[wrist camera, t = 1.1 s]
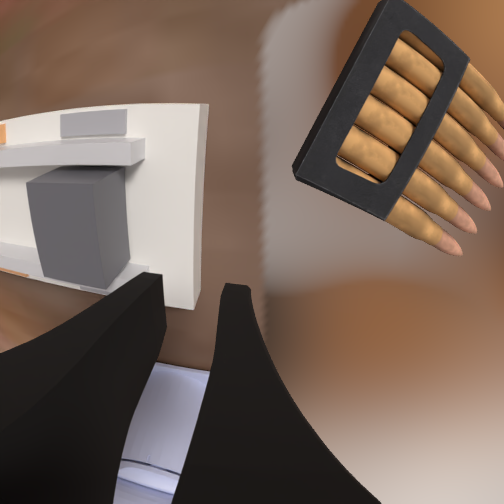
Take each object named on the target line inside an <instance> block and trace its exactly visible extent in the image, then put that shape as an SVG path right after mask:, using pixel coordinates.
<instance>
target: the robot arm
mask: <svg viewBox="0 0 504 504" xmlns="http://www.w3.org/2000/svg"><path fill="white" fill-rule="evenodd" d="M166 328H167V324H166V313H165V301H164V288H163V274H156V273H149V272H142V273H140V274H139V275H137V276H135V277H134V278H132V279H131V280H129V281H128V282H126V283H125V284H123V285H122V286H120V287H119V288H117V289H116V290H115V291H113V292H112V293H110V294H109V295H107V296H106V297H104V298H103V299H101V300H100V301H98V302H97V303H95V304H94V305H92V306H91V307H89V308H87V309H86V310H84V311H82V312H81V313H79V314H78V315H76V316H74V317H73V318H71V319H70V320H68V321H66V322H65V323H63V324H61V325H60V326H58V327H56V328H54V329H52V330H51V331H49V332H47V333H45V334H43V335H41V336H39V337H37V338H35V339H33V340H31V341H29V342H26V343H24V344H22V345H19V346H17V347H14V348H12V349H10V350H7V351H5V352H2V353H0V504H381V502H380V501H378V499H377V498H375V497H374V496H373V495H372V494H371V493H370V492H369V491H368V490H367V489H366V488H365V487H363V486H362V485H361V484H360V483H359V482H358V481H357V480H356V479H355V478H354V477H353V476H352V474H351V473H349V471H348V470H346V468H345V467H344V466H343V465H342V464H341V463H340V462H339V460H338V459H337V458H336V457H335V456H334V455H333V454H332V452H331V451H330V450H329V449H328V448H327V446H326V445H325V444H324V443H323V441H322V440H321V439H320V437H319V436H318V435H317V433H316V432H315V431H314V429H313V428H312V427H311V425H310V424H309V423H308V421H307V420H306V419H305V417H304V416H303V414H302V413H301V411H300V410H299V408H298V407H297V405H296V403H295V402H294V401H293V399H292V397H291V396H290V394H289V392H288V390H287V389H286V387H285V385H284V383H283V381H282V380H281V378H280V376H279V374H278V372H277V370H276V368H275V366H274V364H273V361H272V360H271V357H270V355H269V353H268V350H267V348H266V345H265V343H264V341H263V338H262V335H261V332H260V329H259V326H258V324H257V320H256V317H255V313H254V309H253V305H252V300H251V289H250V288H249V287H248V286H247V285H239V284H231V283H226V284H225V286H224V289H223V291H222V294H221V298H220V307H219V316H218V325H217V334H216V344H215V351H214V357H213V363H212V366H211V370H210V371H203V370H197V369H191V368H185V367H179V366H174V365H169V364H163V363H158V362H156V360H157V358H158V356H159V352H160V349H161V346H162V343H163V339H164V335H165V332H166Z"/></svg>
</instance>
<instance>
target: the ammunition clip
mask: <svg viewBox="0 0 504 504" xmlns="http://www.w3.org/2000/svg"><path fill="white" fill-rule="evenodd" d="M469 61H470V58H469V57H468V56H467V55H466V54H465V53H464V52H463V51H462V50H461V49H460V48H459V47H458V46H457V45H456V44H455V43H454V42H453V41H451V39H449V38H448V37H447V36H446V35H445V34H444V33H443V32H442V31H441V30H439V29H438V28H437V27H436V26H435V25H434V24H433V23H431V22H430V21H429V20H428V19H426V18H425V17H424V16H423V15H422V14H420V13H419V12H418V11H417V10H415V9H414V8H413V7H411V6H410V5H409V4H408V3H406V2H405V1H403V0H382V1H380V2H379V3H378V4H377V6H376V8H375V10H374V12H373V14H372V15H371V17H370V19H369V21H368V23H367V25H366V27H365V28H364V31H363V32H362V34H361V36H360V38H359V40H358V42H357V44H356V45H355V47H354V49H353V51H352V53H351V55H350V57H349V59H348V60H347V62H346V64H345V66H344V68H343V70H342V72H341V74H340V76H339V77H338V79H337V81H336V83H335V85H334V87H333V89H332V91H331V93H330V94H329V97H328V98H327V100H326V102H325V104H324V106H323V108H322V110H321V111H320V113H319V115H318V117H317V119H316V121H315V123H314V125H313V127H312V129H311V130H310V132H309V134H308V136H307V138H306V140H305V142H304V144H303V145H302V147H301V149H300V151H299V153H298V155H297V157H296V159H295V161H294V163H293V165H292V168H293V173H294V176H295V178H296V180H298V181H300V182H302V183H305V184H307V185H309V186H311V187H314V188H316V189H318V190H320V191H323V192H325V193H327V194H329V195H331V196H334V197H336V198H338V199H340V200H342V201H344V202H347V203H348V204H351V205H353V206H355V207H357V208H359V209H361V210H363V211H365V212H367V213H369V214H371V215H373V216H375V217H377V218H379V219H381V220H383V221H386V222H387V223H389V224H391V225H393V226H394V227H396V228H398V229H399V230H401V231H403V232H405V233H406V234H408V235H409V236H411V237H413V238H416V239H419V240H422V241H424V242H426V243H428V244H429V245H432V246H434V247H435V248H437V249H439V250H440V251H442V252H444V253H447V254H450V255H453V256H462V250H461V248H460V246H459V245H458V243H457V242H456V241H455V240H454V238H453V237H452V236H451V235H450V234H449V233H447V232H446V231H445V230H443V229H442V228H441V227H440V226H439V225H438V224H437V223H435V222H434V221H433V220H432V219H431V218H430V216H429V215H428V214H427V213H426V212H424V211H423V210H422V209H420V208H419V207H418V206H416V205H415V204H413V203H412V202H410V201H409V200H407V199H406V198H404V197H403V196H401V194H403V195H405V196H406V197H408V198H409V199H411V200H412V201H414V202H415V203H417V204H418V205H420V206H421V207H422V208H424V209H426V210H427V211H429V212H432V213H434V214H437V215H438V216H440V217H441V218H443V219H445V220H446V221H448V222H449V223H451V224H452V225H454V226H455V227H457V228H459V229H461V230H463V231H465V232H468V233H473V234H475V233H477V229H476V226H475V224H474V222H473V220H472V219H471V218H470V216H469V215H468V214H467V213H466V212H465V210H464V209H463V208H461V207H460V206H459V205H458V204H457V203H456V202H455V201H454V200H453V199H452V198H451V197H450V196H449V195H448V194H447V192H446V191H445V190H444V189H443V188H442V187H441V186H440V185H439V184H438V183H437V182H435V181H434V180H433V179H431V178H430V177H429V176H428V175H426V174H425V173H424V172H422V171H421V170H420V169H418V168H417V167H418V166H419V167H420V168H421V169H423V170H424V171H426V172H427V173H428V174H429V175H431V176H432V177H434V178H435V179H436V180H437V181H439V182H440V183H441V184H443V185H445V186H447V187H449V188H451V189H453V190H454V191H455V192H457V193H458V194H459V195H461V196H462V197H464V198H465V199H466V200H467V201H469V202H470V203H471V204H473V205H474V206H477V207H478V208H480V209H483V210H486V211H490V210H491V207H490V203H489V201H488V199H487V197H486V195H485V194H484V193H483V191H482V190H481V189H480V187H479V186H478V185H477V184H476V183H475V182H474V181H473V180H472V179H471V178H470V176H469V175H468V174H467V173H465V171H464V170H463V169H462V167H461V166H460V164H459V163H458V162H457V161H456V160H455V159H454V158H453V157H452V156H451V155H449V154H448V153H447V152H446V151H445V150H444V149H442V148H441V147H440V146H439V145H438V144H436V143H435V142H434V141H433V140H432V139H434V140H435V141H437V142H438V143H439V144H440V145H441V146H442V147H444V148H445V149H446V150H447V151H449V152H450V153H451V154H452V155H453V156H454V157H456V158H457V159H458V160H460V161H462V162H464V163H465V164H467V165H468V166H469V167H470V168H472V169H473V170H474V171H476V172H477V173H478V174H479V175H480V176H481V177H482V178H483V179H485V180H486V181H487V182H489V183H490V184H492V185H494V186H496V187H498V188H503V182H502V179H501V177H500V175H499V173H498V171H497V169H496V168H495V167H494V165H493V164H492V162H491V161H490V160H489V159H488V158H487V157H486V156H485V154H484V153H483V152H482V151H481V150H480V148H479V147H478V146H477V144H476V143H475V141H474V140H473V139H472V137H471V136H470V135H469V134H468V133H467V132H466V131H465V130H464V129H463V128H462V127H461V126H463V127H464V128H465V129H466V130H467V131H468V132H470V133H471V134H473V135H474V136H476V137H477V138H478V139H479V140H480V141H482V142H483V143H484V144H485V145H486V146H487V147H488V148H489V149H490V150H491V151H492V152H493V153H494V154H496V155H497V156H498V157H499V158H500V159H502V160H503V161H504V139H503V138H502V137H501V135H500V134H499V133H498V132H497V130H496V129H495V128H494V126H493V125H492V124H491V123H490V121H489V120H488V118H487V117H486V115H485V114H484V112H483V111H482V110H481V109H483V110H484V111H486V112H487V113H488V114H490V116H491V117H492V118H493V119H494V120H495V121H497V122H498V123H499V124H500V126H501V127H502V128H503V129H504V103H503V102H502V100H501V99H500V97H499V96H498V94H497V92H496V91H495V89H494V88H493V87H492V86H491V85H490V84H489V83H488V82H487V80H486V79H485V78H484V77H483V76H482V75H481V74H480V73H479V72H478V71H477V70H476V69H475V68H474V67H473V66H472V65H471V64H470V63H469ZM390 69H391V70H390ZM393 71H394V72H393ZM396 73H397V74H396ZM399 75H400V76H401V77H400V76H399ZM403 78H404V79H403ZM406 80H407V81H408V82H407V81H406ZM410 83H411V84H412V85H411V84H410ZM414 86H415V87H416V88H417V89H416V88H415V87H414ZM369 94H371V95H372V96H374V97H375V98H377V99H379V100H380V101H382V102H383V103H385V104H386V105H388V106H389V107H391V108H392V109H394V110H395V111H397V112H398V113H399V114H401V115H402V116H404V118H403V117H402V116H400V115H399V114H397V113H396V112H395V111H393V110H392V109H390V108H389V107H387V106H386V105H384V104H383V103H382V102H380V101H379V100H377V99H375V98H374V97H372V96H371V95H369ZM477 105H478V106H479V107H480V108H481V109H480V108H479V107H478V106H477ZM446 112H447V113H448V114H449V115H450V116H452V117H453V118H454V119H455V120H456V121H457V122H458V123H459V124H460V125H461V126H460V125H459V124H458V123H456V121H454V120H453V119H452V118H451V117H450V116H449V115H448V114H447V113H446ZM353 124H355V125H356V126H358V127H360V128H361V129H363V130H365V131H366V132H368V133H370V134H371V135H373V136H374V137H376V138H378V139H379V140H381V141H382V142H384V143H385V144H387V145H388V147H387V146H386V145H384V144H383V143H381V142H380V141H378V140H377V139H375V138H374V137H372V136H371V135H369V134H367V133H366V132H364V131H363V130H361V129H359V128H358V127H356V126H354V125H353ZM337 155H338V156H340V157H342V158H344V159H345V160H347V161H349V162H350V163H352V164H354V165H356V166H358V167H359V168H361V169H363V170H364V171H366V172H368V173H369V174H366V173H365V172H363V171H362V170H360V169H358V168H357V167H355V166H353V165H352V164H350V163H348V162H346V161H345V160H343V159H341V158H339V157H338V156H337Z"/></svg>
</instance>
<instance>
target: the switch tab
mask: <svg viewBox="0 0 504 504" xmlns="http://www.w3.org/2000/svg"><path fill="white" fill-rule="evenodd" d="M26 188H27V196H28V203H29V209H30V216H31V221H32V227H33V232H34V237H35V242H36V246H37V251H38V255H39V259H40V263H41V267H42V271H43V275H44V277H47V278H52V279H56V280H61V281H65V282H70V283H75V284H79V285H84V286H89V287H94V288H99V289H105V290H107V288H108V287H109V286H110V284H111V283H112V282H113V280H114V279H115V278H116V276H117V275H118V274H119V273H120V271H121V270H122V269H123V267H124V266H125V265H126V264H127V262H128V261H129V260H130V249H129V238H128V225H127V210H126V190H125V167H116V166H61V167H59V168H56V169H54V170H52V171H50V172H47V173H45V174H43V175H41V176H39V177H37V178H34V179H32V180H30V181H28V182H26Z"/></svg>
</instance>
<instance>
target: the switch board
mask: <svg viewBox="0 0 504 504" xmlns="http://www.w3.org/2000/svg"><path fill="white" fill-rule="evenodd" d="M208 112H209V104H191V103H146V104H122V105H106V106H94V107H84V108H75V109H66V110H59V111H52V112H45V113H39V114H33V115H28V116H22V117H17V118H12V119H8V120H3V121H0V270H1V271H4V272H8V273H12V274H16V275H19V276H23V277H27V278H31V279H35V280H39V281H44V282H48V283H52V284H56V285H61V286H65V287H70V288H74V289H79V290H84V291H88V292H93V293H98V294H103V295H109V294H110V293H112V292H113V291H115V290H116V289H117V288H119V287H120V286H122V285H123V284H125V283H126V282H128V281H129V280H131V279H132V278H134V277H135V276H137V275H139V274H140V273H142V272H149V273H156V274H163V288H164V301H165V306H170V307H176V308H183V309H189V310H194V308H195V305H196V302H197V299H198V296H199V294H200V291H201V241H202V211H203V189H204V170H205V153H206V138H207V125H208ZM61 166H116V167H125V190H126V210H127V225H128V238H129V249H130V260H129V261H128V262H127V264H126V265H125V266H124V267H123V269H122V270H121V271H120V273H119V274H118V275H117V276H116V278H115V279H114V280H113V282H112V283H111V284H110V286H109V287H108V288H107V290H105V289H99V288H94V287H89V286H84V285H79V284H75V283H70V282H65V281H61V280H56V279H52V278H47V277H44V275H43V271H42V267H41V263H40V259H39V255H38V251H37V246H36V242H35V237H34V232H33V227H32V221H31V216H30V209H29V203H28V196H27V188H26V182H28V181H30V180H32V179H34V178H37V177H39V176H41V175H43V174H45V173H47V172H50V171H52V170H54V169H56V168H59V167H61Z"/></svg>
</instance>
